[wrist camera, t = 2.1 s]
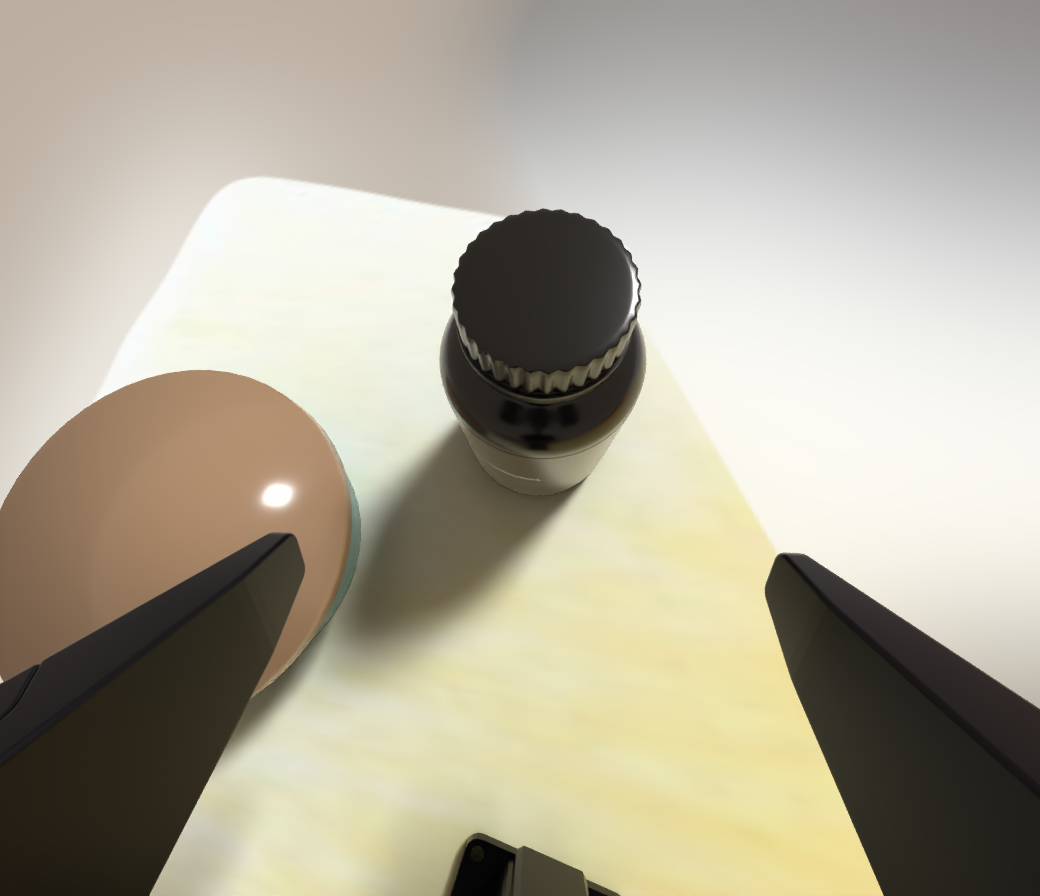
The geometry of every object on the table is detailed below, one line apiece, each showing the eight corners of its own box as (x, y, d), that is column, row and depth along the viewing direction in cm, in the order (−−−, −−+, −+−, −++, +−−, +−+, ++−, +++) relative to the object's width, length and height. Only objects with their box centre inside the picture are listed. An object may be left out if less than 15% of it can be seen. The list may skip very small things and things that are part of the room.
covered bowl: (300, 757, 19) (230, 811, 15) (35, 638, 21) (-98, 655, 16) (425, 455, 22) (399, 427, 18) (188, 375, 24) (112, 332, 20)
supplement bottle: (481, 509, 22) (416, 436, 10) (464, 381, 23) (392, 195, 12) (621, 486, 22) (716, 386, 10) (592, 360, 24) (645, 154, 12)
